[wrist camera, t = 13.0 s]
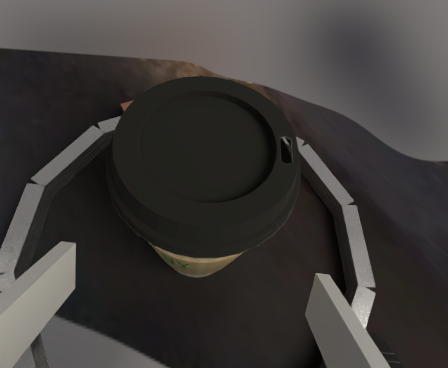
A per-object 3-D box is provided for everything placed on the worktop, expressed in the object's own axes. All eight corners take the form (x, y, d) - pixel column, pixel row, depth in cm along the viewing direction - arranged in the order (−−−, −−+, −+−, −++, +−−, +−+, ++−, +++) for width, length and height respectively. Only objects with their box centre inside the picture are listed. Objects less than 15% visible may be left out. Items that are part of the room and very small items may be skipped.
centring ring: (-20, 167, 27) (-40, 150, 25) (247, 84, 37) (251, 66, 35) (73, 604, 16) (52, 652, 13) (425, 313, 25) (451, 310, 23)
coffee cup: (152, 189, 28) (125, 55, 15) (251, 199, 29) (305, 81, 16) (130, 295, 23) (61, 231, 10) (249, 305, 24) (325, 257, 11)
